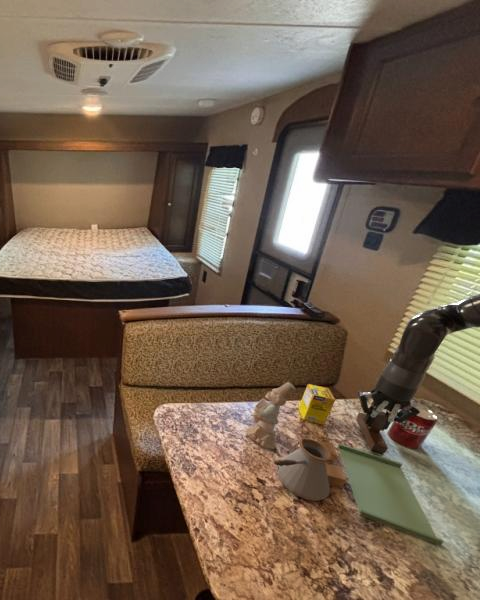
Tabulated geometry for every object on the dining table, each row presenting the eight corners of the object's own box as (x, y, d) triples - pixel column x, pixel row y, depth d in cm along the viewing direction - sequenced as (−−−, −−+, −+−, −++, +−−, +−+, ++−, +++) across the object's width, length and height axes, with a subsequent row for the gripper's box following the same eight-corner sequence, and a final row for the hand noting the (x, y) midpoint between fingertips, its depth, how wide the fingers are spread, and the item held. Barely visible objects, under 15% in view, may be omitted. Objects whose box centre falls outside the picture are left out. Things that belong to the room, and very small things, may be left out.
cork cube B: (334, 477, 83) (340, 467, 82) (340, 491, 80) (346, 480, 78) (316, 472, 84) (322, 462, 83) (322, 485, 81) (327, 475, 79)
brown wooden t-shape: (367, 422, 99) (379, 400, 96) (383, 456, 88) (398, 432, 84) (355, 419, 101) (366, 397, 97) (370, 451, 89) (383, 427, 85)
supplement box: (323, 427, 100) (336, 399, 95) (302, 421, 101) (313, 395, 97) (317, 414, 105) (329, 387, 100) (296, 409, 106) (307, 383, 102)
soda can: (416, 456, 91) (437, 424, 86) (383, 439, 96) (401, 409, 91) (420, 443, 95) (440, 413, 90) (388, 428, 100) (405, 399, 95)
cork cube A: (328, 455, 90) (333, 444, 88) (331, 466, 86) (337, 455, 85) (312, 449, 91) (316, 439, 90) (314, 460, 88) (319, 449, 86)
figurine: (280, 438, 95) (302, 384, 87) (273, 454, 89) (295, 399, 81) (249, 422, 100) (266, 370, 92) (240, 436, 95) (258, 383, 87)
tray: (397, 468, 87) (401, 463, 86) (438, 548, 68) (443, 542, 67) (336, 448, 92) (339, 443, 91) (358, 517, 74) (362, 511, 73)
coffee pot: (292, 459, 88) (309, 418, 82) (336, 497, 78) (360, 453, 72) (236, 486, 80) (251, 443, 74) (277, 531, 70) (299, 485, 64)
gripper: (373, 378, 85) (348, 426, 92) (441, 395, 80) (410, 445, 87) (364, 364, 91) (341, 410, 98) (427, 379, 86) (399, 426, 93)
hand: (374, 426), depth 93 cm, fingers closed on brown wooden t-shape, 2 cm apart
